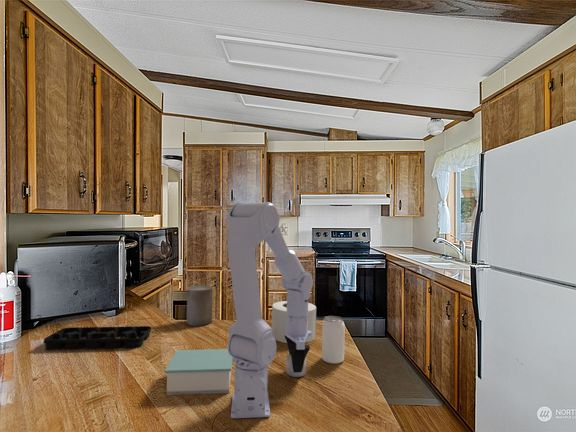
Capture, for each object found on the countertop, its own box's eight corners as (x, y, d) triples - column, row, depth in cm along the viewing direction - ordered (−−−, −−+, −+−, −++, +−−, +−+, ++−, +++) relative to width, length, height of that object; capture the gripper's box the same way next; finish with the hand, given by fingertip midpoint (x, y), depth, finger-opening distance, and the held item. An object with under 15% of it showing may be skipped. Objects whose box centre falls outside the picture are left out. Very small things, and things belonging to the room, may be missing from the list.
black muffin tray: (54, 339, 111) (55, 327, 111) (152, 331, 120) (152, 320, 120) (34, 360, 94) (34, 346, 94) (149, 348, 104) (149, 336, 104)
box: (228, 393, 77) (229, 371, 77) (166, 395, 76) (167, 373, 76) (231, 370, 89) (232, 351, 89) (177, 371, 88) (178, 352, 88)
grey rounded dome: (307, 376, 86) (307, 361, 86) (287, 377, 85) (287, 361, 85) (304, 367, 91) (304, 353, 91) (285, 368, 90) (285, 353, 90)
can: (326, 365, 93) (327, 322, 94) (318, 356, 100) (319, 316, 100) (347, 363, 95) (348, 321, 95) (338, 354, 101) (339, 314, 102)
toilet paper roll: (321, 333, 121) (322, 303, 121) (304, 347, 107) (305, 313, 107) (283, 326, 128) (284, 298, 128) (263, 338, 114) (263, 307, 114)
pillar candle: (215, 319, 135) (215, 282, 135) (206, 326, 125) (207, 286, 125) (192, 318, 136) (192, 281, 136) (182, 325, 126) (182, 286, 126)
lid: (231, 371, 77) (231, 368, 77) (164, 373, 75) (165, 370, 75) (233, 351, 89) (233, 348, 89) (176, 352, 88) (176, 350, 88)
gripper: (317, 323, 82) (316, 379, 81) (307, 308, 96) (306, 355, 96) (288, 323, 81) (287, 380, 81) (283, 308, 95) (282, 356, 95)
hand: (296, 366), depth 88 cm, fingers closed on grey rounded dome, 5 cm apart
